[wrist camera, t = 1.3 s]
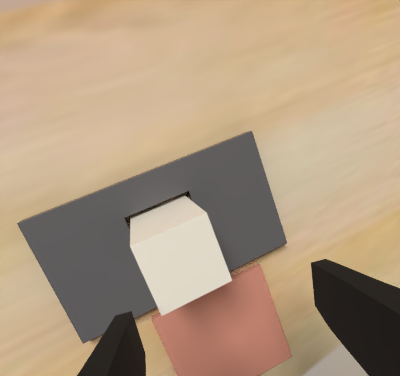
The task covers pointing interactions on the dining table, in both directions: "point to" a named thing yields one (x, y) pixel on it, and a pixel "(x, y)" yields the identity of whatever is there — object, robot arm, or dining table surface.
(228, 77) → the dining table surface
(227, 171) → the board
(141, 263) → the plug
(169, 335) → the mat
